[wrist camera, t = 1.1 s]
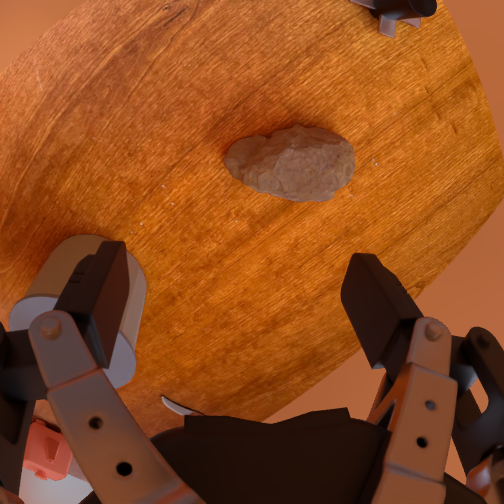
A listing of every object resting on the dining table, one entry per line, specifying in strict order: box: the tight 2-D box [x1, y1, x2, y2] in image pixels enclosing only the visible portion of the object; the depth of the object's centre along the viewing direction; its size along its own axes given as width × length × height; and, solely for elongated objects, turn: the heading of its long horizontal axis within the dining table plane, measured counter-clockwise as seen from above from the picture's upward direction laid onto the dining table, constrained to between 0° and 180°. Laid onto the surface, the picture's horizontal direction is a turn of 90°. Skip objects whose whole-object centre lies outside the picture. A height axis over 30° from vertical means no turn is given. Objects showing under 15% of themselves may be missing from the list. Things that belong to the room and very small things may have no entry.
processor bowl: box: [24, 234, 146, 351], centre depth 30 cm, size 13×13×10 cm
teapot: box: [22, 419, 73, 481], centre depth 51 cm, size 22×13×14 cm, turn 136°
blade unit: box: [348, 0, 437, 38], centre depth 18 cm, size 8×6×7 cm
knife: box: [162, 396, 204, 416], centre depth 51 cm, size 13×1×3 cm
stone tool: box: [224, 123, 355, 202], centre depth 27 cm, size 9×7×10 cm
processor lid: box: [9, 293, 136, 401], centre depth 23 cm, size 14×14×7 cm
